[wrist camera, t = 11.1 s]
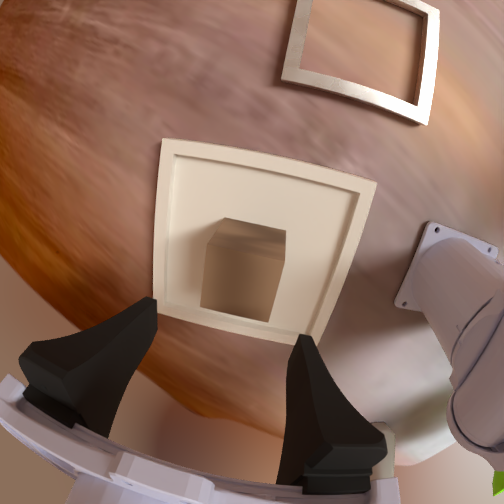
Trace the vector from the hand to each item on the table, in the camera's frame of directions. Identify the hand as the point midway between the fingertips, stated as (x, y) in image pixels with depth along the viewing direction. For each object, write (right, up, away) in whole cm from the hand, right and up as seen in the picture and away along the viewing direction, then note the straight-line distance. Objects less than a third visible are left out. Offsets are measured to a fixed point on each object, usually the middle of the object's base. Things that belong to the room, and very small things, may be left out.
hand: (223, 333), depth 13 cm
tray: (+1, +4, +8) cm, 9 cm away
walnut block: (+1, +4, +8) cm, 9 cm away
